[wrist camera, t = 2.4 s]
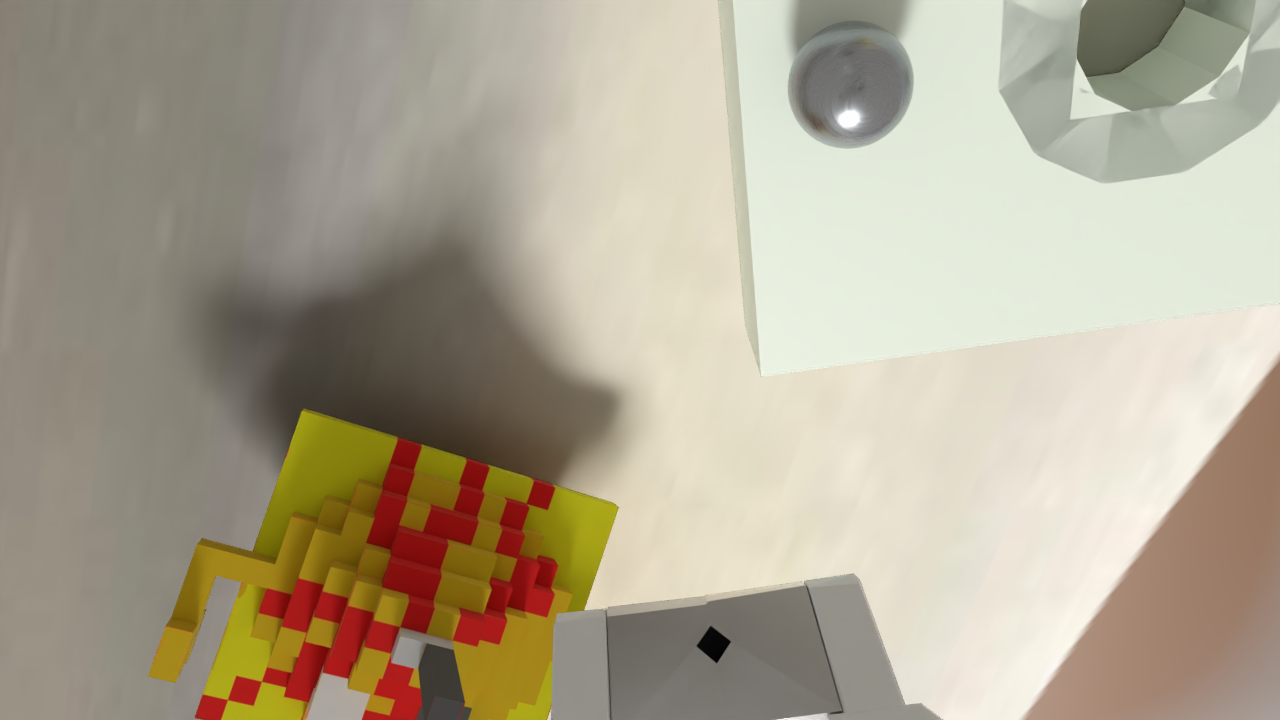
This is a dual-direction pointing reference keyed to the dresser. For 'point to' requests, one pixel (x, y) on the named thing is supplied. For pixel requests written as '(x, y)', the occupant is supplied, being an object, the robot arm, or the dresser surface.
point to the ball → (850, 84)
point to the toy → (391, 587)
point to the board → (1003, 180)
